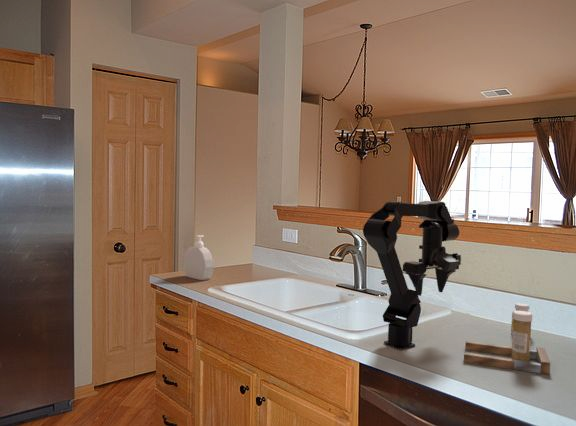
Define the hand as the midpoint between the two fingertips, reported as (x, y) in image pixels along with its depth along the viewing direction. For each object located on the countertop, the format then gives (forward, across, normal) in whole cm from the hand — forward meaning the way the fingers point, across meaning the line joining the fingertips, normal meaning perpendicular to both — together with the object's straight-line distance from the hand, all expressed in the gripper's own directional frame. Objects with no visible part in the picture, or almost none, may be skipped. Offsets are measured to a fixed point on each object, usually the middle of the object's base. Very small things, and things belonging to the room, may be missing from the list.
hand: (430, 293), depth 148 cm
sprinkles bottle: (+13, +4, -27) cm, 31 cm away
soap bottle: (+13, -30, +112) cm, 117 cm away
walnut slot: (+13, +2, -24) cm, 28 cm away
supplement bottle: (+14, +27, -13) cm, 33 cm away
